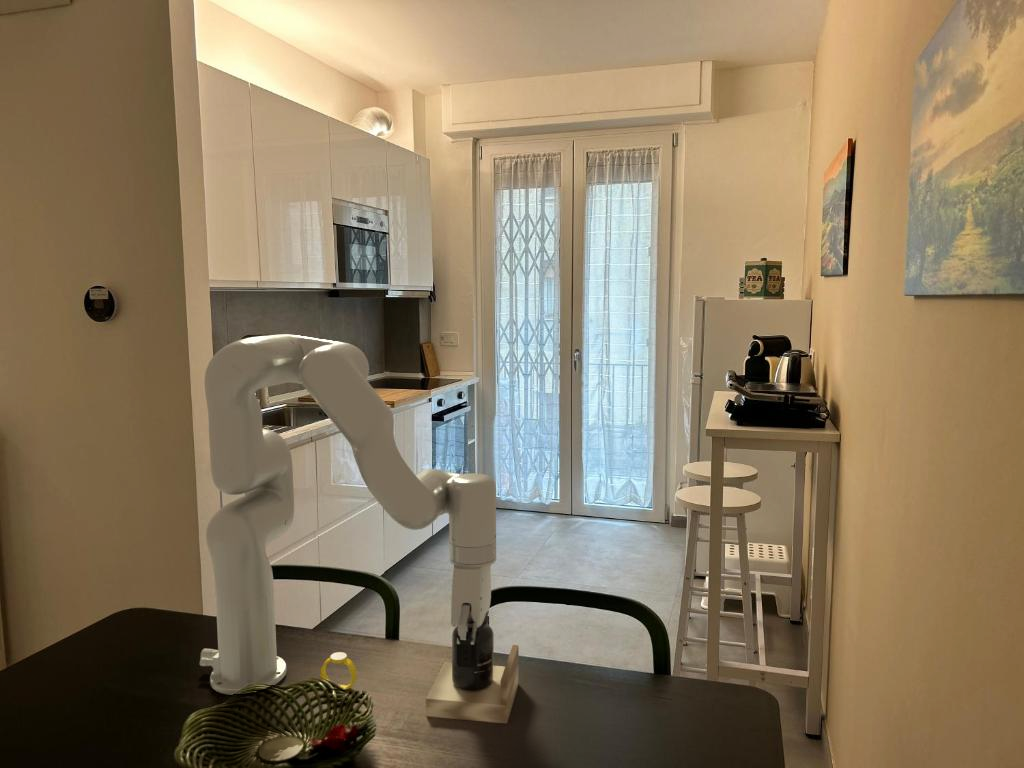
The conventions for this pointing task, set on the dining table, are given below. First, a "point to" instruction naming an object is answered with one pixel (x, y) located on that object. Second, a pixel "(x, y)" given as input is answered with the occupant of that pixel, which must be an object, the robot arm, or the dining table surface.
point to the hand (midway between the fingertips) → (473, 651)
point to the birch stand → (476, 694)
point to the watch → (340, 658)
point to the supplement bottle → (484, 671)
